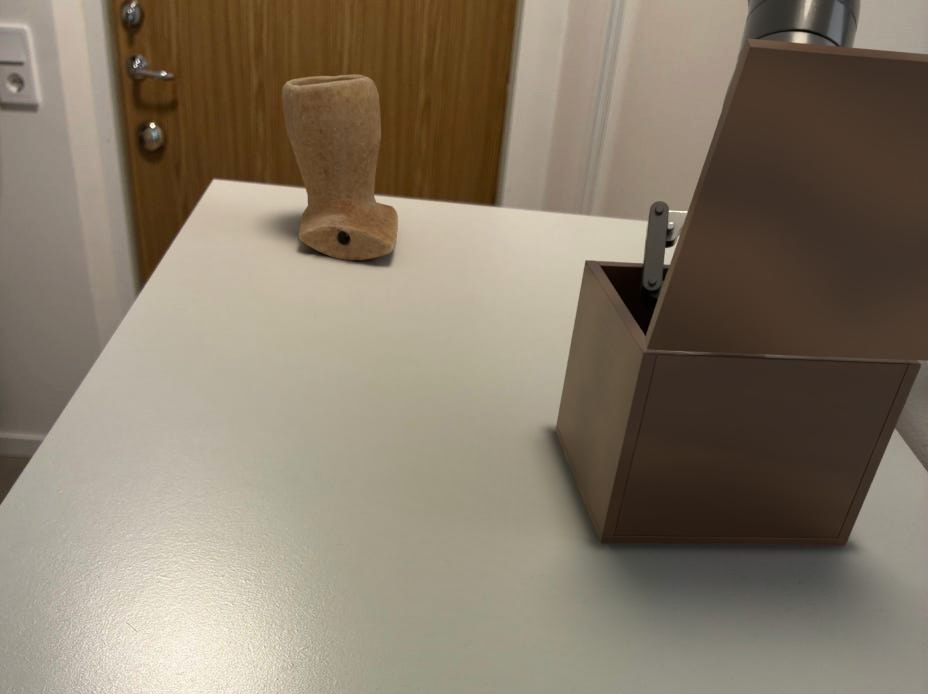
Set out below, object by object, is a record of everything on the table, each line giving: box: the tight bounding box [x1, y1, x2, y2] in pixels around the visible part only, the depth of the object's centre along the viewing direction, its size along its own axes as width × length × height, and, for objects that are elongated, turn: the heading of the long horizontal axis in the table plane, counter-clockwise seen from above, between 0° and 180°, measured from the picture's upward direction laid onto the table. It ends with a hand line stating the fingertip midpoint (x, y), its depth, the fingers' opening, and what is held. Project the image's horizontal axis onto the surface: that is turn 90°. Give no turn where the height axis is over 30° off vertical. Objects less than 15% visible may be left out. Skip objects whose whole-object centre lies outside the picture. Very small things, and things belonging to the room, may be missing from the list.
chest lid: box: [644, 39, 928, 362], centre depth 48 cm, size 16×17×1 cm
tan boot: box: [281, 74, 399, 261], centre depth 97 cm, size 15×12×15 cm
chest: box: [554, 259, 922, 546], centre depth 65 cm, size 15×17×13 cm
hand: (722, 380), depth 62 cm, fingers closed on pill bottle, 6 cm apart
